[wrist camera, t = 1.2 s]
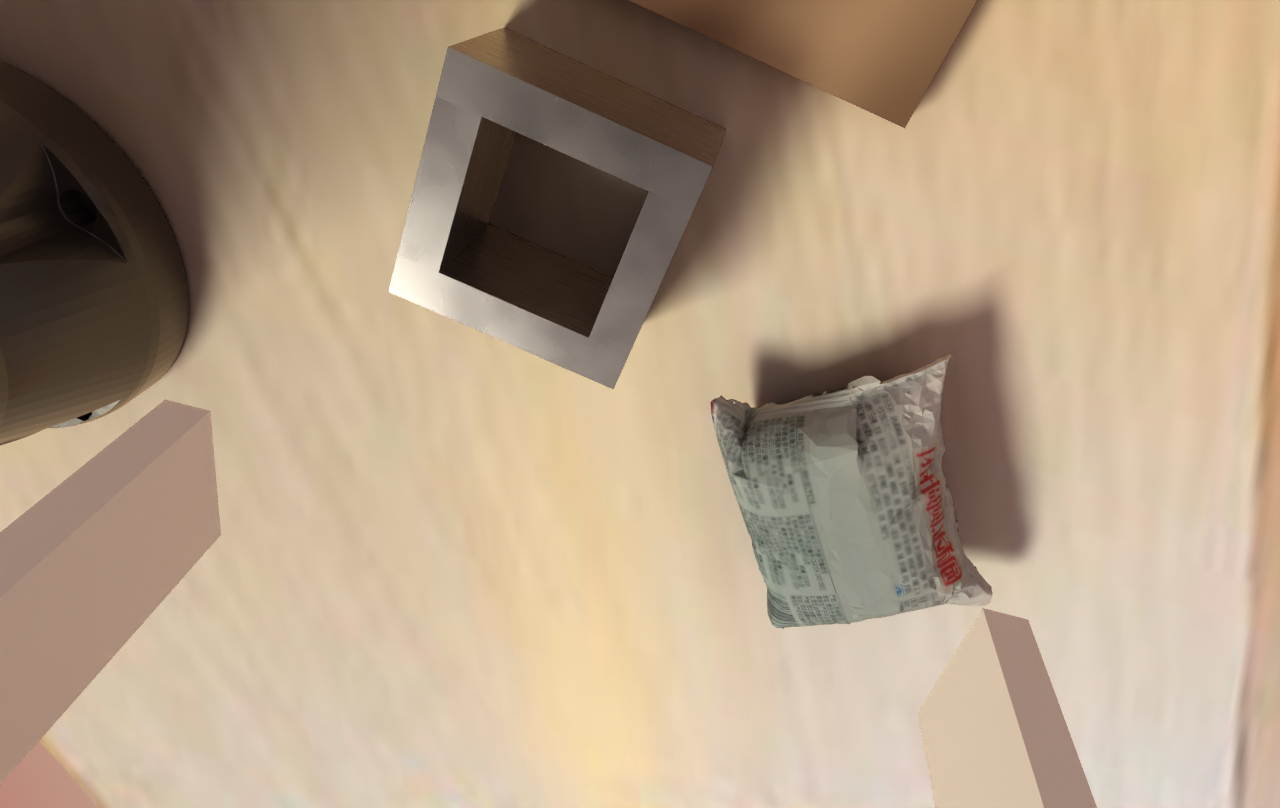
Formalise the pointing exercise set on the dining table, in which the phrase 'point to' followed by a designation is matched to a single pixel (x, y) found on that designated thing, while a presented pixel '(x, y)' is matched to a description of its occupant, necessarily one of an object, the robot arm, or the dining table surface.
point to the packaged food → (850, 500)
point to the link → (515, 268)
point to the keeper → (836, 42)
